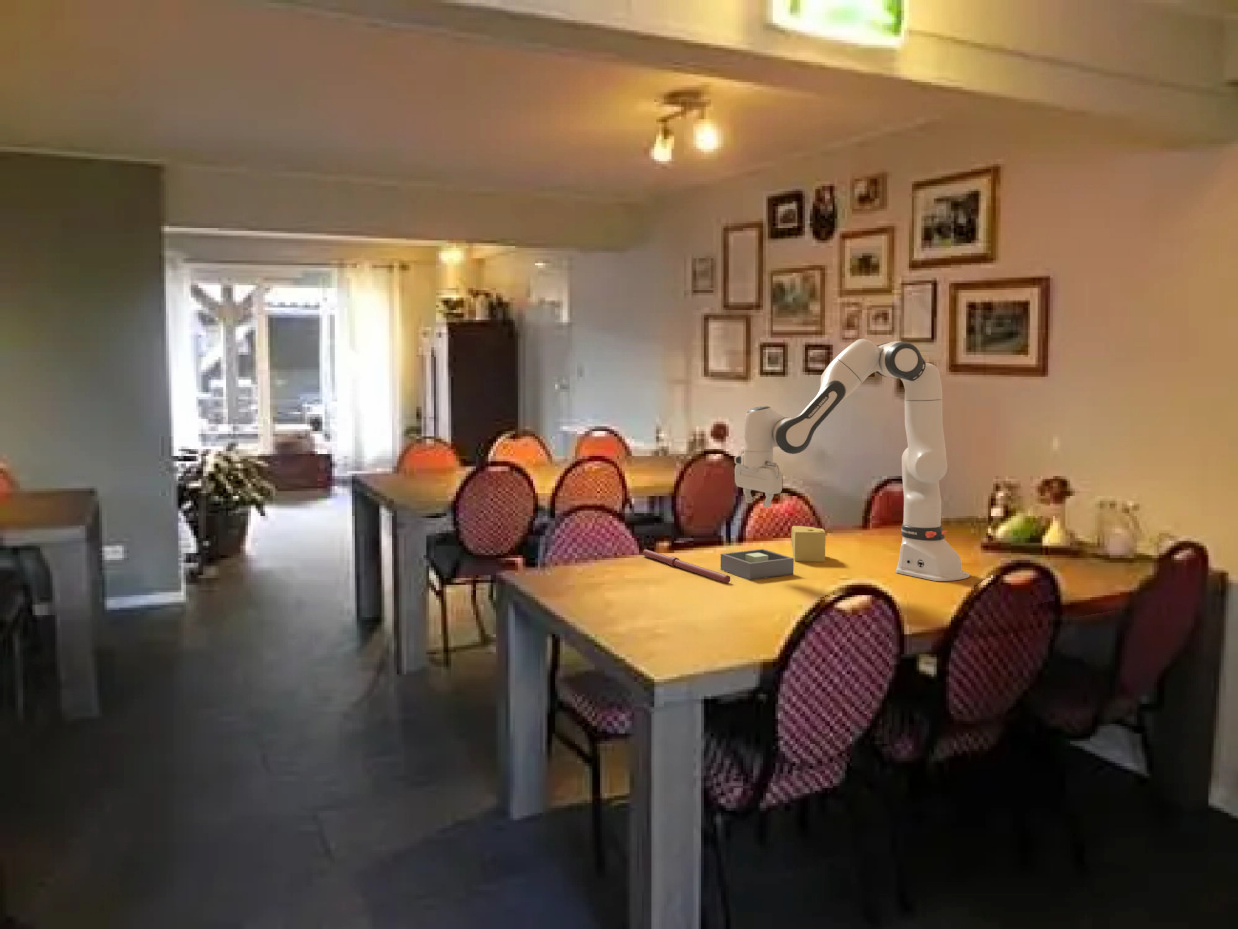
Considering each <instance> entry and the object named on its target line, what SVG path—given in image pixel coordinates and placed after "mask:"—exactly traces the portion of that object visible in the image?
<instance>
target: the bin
mask: <svg viewBox="0 0 1238 929" xmlns="http://www.w3.org/2000/svg"><path fill="white" fill-rule="evenodd" d="M751 553H762V554H765V555H768V561H761V562H753V563H750V562H747V561H745V554H751ZM794 561H795V560H794V557H791V556H787V555H784V554H782V553H778V552H775V551H771V550H768V549H764V548H760V549H750V550H742V551H733V552H725V553H720V571H723V570H724V572H726V573H728V572H729V574H731V575H734V576H737V577H739V578H742V579H746V580H749V581H753V580H762V579H771V578H777V577H785V576H790V575H791V576H792V575H793V576H794V571H795V570H794V569H795V568H794V567H795V566H794V564H795V563H794Z"/></svg>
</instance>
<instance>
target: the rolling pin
mask: <svg viewBox="0 0 1238 929" xmlns="http://www.w3.org/2000/svg"><path fill="white" fill-rule="evenodd" d="M642 555H643V556H644V557H647V558H649V559H652V558H654V559H653V560H655V559H657V560H656V561H658V560H659V562H661V561H662V563H665V564H669V565H671V566H670V567H672V566H676V567H675V568H680V569H683V570H686V571H689V572H692V573H694V574H698V575H700V576H704V577H707V578H711V580H712V579H713V580H716V581H719V582H722V583H724V584H729V583H730V581H731V577H730V576H729V575H728V574H725V573H720V572H718V571H714V570H712V569H709V568H705V567H702V566H700V565H696V564H693V563H689V562H686V561H684V560H680V558H678V557H676V556H674V555H673V556H669V555H665V554H662V553H659V552H655V551H652V550H649V549H644V550H643V551H642ZM669 565H668V566H669Z"/></svg>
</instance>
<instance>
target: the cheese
mask: <svg viewBox="0 0 1238 929" xmlns="http://www.w3.org/2000/svg"><path fill="white" fill-rule="evenodd" d="M790 538H791V548H792V549H791V550H792V558H794V561H795V562H809V563H810V562H811V563H813V562H815V563H816V562H817V563H818V562H819V563H821V562H823V563H824V562H825V561H826V531H825V529H824V528H817V527H813V526H805V525H804V526H802V525H793V526H792V527H791V535H790Z"/></svg>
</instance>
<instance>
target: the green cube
mask: <svg viewBox="0 0 1238 929" xmlns="http://www.w3.org/2000/svg"><path fill="white" fill-rule="evenodd" d="M745 561H747V562H750V563H753V562H761V561H768V555H765V554H762V553H751V554H745Z"/></svg>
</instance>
